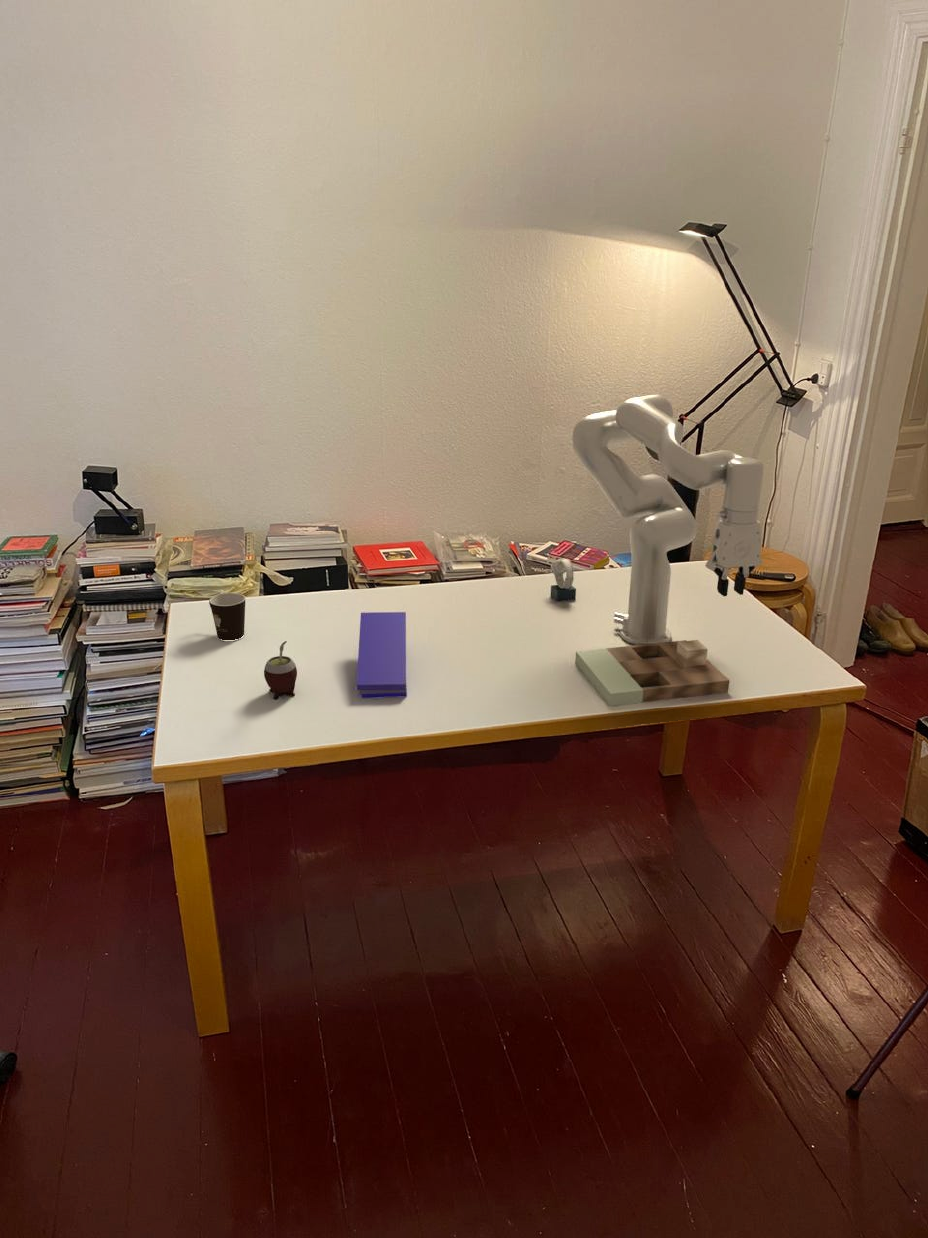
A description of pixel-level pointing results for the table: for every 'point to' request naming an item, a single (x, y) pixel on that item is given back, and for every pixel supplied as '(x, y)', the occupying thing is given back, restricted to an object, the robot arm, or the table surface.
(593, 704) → the table surface
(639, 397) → the robot arm
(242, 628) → the coffee mug
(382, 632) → the layered purple block
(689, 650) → the maple block
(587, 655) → the pad
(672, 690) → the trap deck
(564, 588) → the white knot sculpture
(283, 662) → the mate gourd
